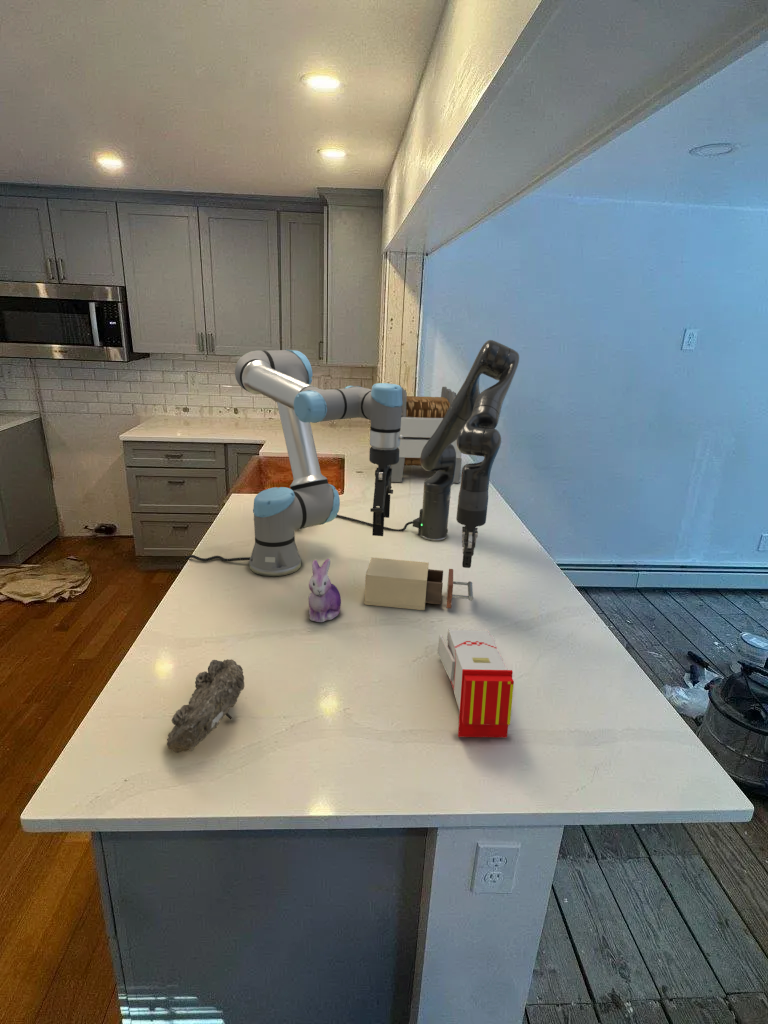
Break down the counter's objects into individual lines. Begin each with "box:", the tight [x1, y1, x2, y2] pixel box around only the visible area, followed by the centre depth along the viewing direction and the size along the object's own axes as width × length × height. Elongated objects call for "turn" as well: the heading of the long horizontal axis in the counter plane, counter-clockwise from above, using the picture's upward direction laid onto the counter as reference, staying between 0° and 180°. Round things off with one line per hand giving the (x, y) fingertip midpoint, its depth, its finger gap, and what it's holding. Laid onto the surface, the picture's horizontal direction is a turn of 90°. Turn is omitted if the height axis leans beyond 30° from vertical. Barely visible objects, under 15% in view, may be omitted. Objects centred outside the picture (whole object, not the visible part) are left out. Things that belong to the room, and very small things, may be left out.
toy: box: [437, 628, 515, 738], centre depth 117 cm, size 12×13×30 cm
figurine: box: [308, 558, 342, 623], centre depth 143 cm, size 9×10×15 cm
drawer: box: [425, 568, 474, 609], centre depth 153 cm, size 20×10×7 cm, turn 83°
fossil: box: [166, 658, 245, 754], centre depth 106 cm, size 22×10×15 cm
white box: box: [391, 384, 463, 484], centre depth 268 cm, size 34×33×41 cm
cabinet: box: [364, 557, 430, 611], centre depth 154 cm, size 16×11×9 cm
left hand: (381, 525), depth 149 cm, fingers open, 13 cm apart
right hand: (466, 566), depth 150 cm, fingers closed
